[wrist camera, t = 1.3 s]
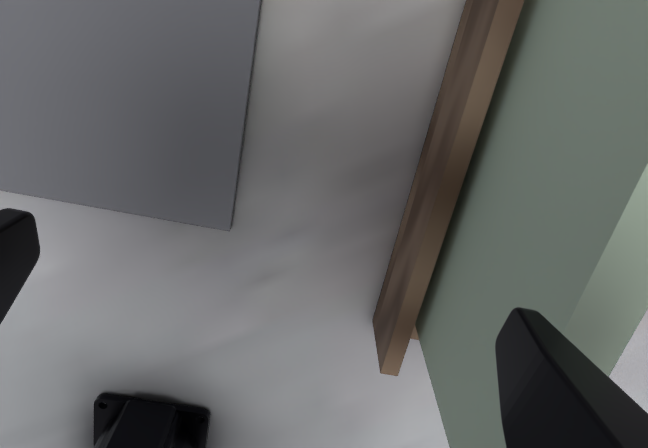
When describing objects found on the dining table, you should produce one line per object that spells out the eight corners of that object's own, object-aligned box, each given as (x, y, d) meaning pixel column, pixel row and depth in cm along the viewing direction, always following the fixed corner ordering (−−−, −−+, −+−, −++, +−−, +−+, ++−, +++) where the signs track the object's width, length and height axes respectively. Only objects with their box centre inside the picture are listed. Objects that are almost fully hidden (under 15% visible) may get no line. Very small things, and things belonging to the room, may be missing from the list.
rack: (532, 347, 26) (566, 402, 23) (372, 320, 26) (380, 373, 22) (703, -13, 19) (793, -17, 15) (484, -65, 18) (525, -82, 15)
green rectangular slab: (440, 309, 24) (522, 526, 14) (409, 304, 24) (469, 520, 14) (548, 9, 18) (816, 13, 8) (508, 0, 18) (731, -7, 8)
